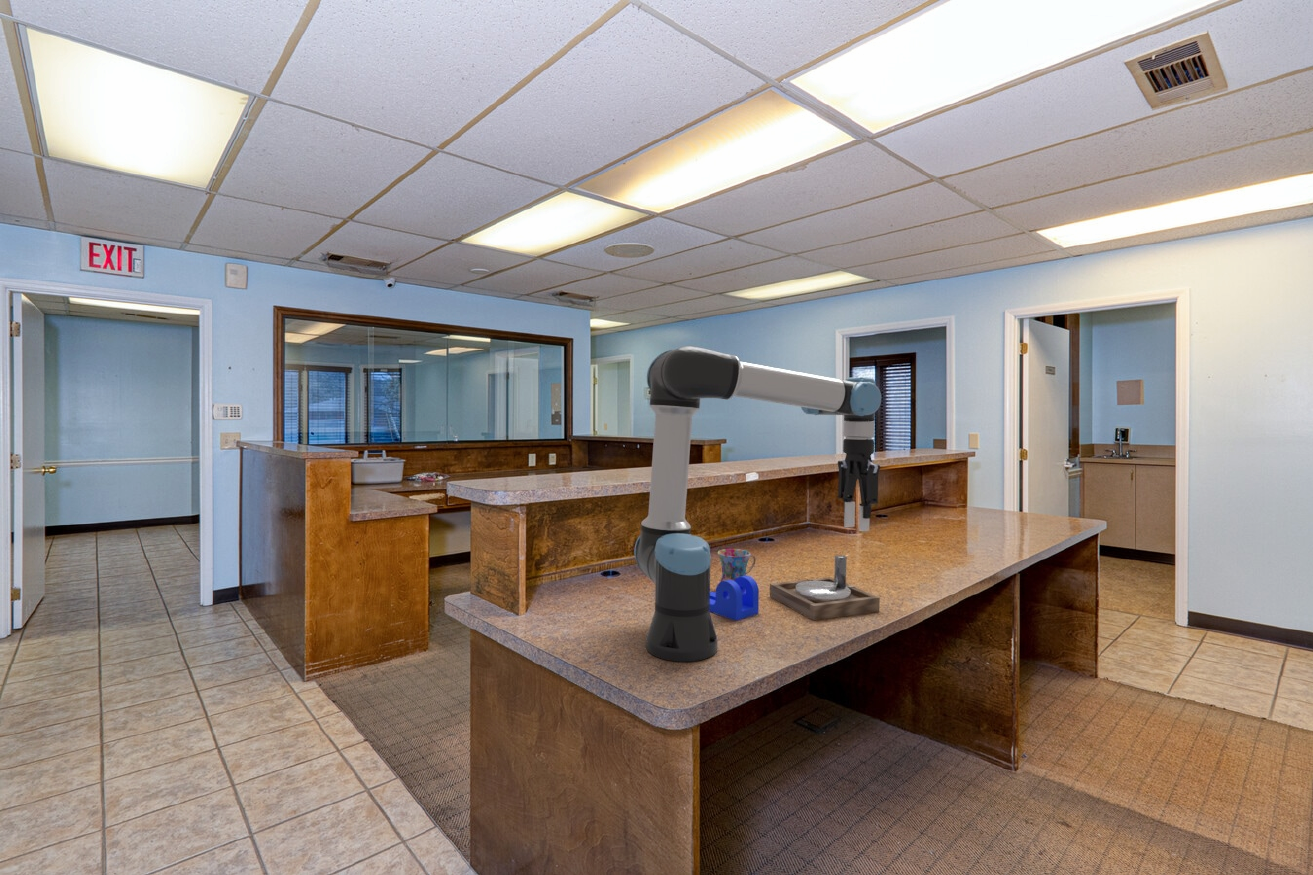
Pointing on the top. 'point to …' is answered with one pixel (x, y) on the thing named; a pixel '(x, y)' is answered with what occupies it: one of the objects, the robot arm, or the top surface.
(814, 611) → the dial panel
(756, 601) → the bracket
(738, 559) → the mug
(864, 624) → the top surface
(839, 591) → the dial
